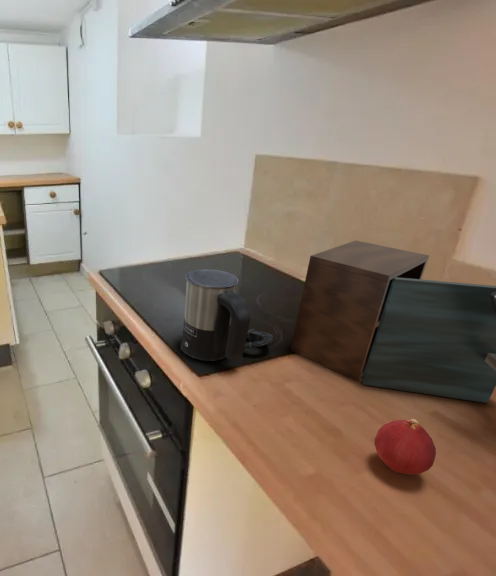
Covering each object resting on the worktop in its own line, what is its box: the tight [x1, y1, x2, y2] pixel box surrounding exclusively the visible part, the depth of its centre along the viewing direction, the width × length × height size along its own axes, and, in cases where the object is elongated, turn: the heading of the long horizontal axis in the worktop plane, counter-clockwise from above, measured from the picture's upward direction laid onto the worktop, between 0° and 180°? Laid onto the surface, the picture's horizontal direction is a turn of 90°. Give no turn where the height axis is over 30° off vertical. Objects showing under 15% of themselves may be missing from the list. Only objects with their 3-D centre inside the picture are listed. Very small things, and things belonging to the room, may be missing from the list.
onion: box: [373, 418, 437, 475], centre depth 45 cm, size 6×6×8 cm
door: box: [361, 277, 496, 404], centre depth 54 cm, size 8×17×19 cm, turn 74°
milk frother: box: [179, 268, 274, 362], centre depth 71 cm, size 14×16×15 cm
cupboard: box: [290, 240, 430, 382], centre depth 69 cm, size 12×17×19 cm
